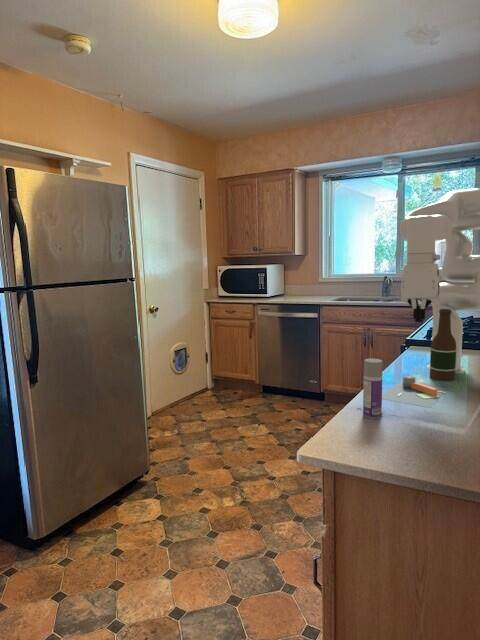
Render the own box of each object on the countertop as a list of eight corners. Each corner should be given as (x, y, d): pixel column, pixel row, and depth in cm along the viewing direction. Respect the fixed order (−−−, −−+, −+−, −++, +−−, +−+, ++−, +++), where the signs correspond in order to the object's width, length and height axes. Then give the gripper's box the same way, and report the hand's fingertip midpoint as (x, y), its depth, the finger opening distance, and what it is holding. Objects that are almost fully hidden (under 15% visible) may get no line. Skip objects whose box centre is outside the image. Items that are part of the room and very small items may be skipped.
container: (381, 413, 115) (382, 358, 113) (381, 419, 111) (382, 363, 109) (363, 411, 117) (364, 357, 115) (362, 417, 112) (363, 362, 110)
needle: (400, 385, 134) (400, 376, 133) (408, 383, 135) (409, 375, 135) (430, 396, 123) (430, 386, 123) (439, 394, 125) (440, 385, 124)
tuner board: (402, 383, 141) (402, 379, 141) (450, 390, 132) (451, 386, 132) (378, 402, 124) (378, 397, 124) (432, 412, 115) (432, 407, 115)
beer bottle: (458, 385, 137) (462, 310, 134) (432, 384, 139) (435, 310, 135) (451, 378, 145) (454, 307, 141) (426, 377, 147) (429, 307, 143)
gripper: (451, 258, 123) (449, 320, 127) (397, 259, 132) (397, 317, 135) (446, 259, 117) (444, 325, 121) (390, 260, 126) (389, 322, 129)
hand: (419, 321), depth 128 cm, fingers closed
